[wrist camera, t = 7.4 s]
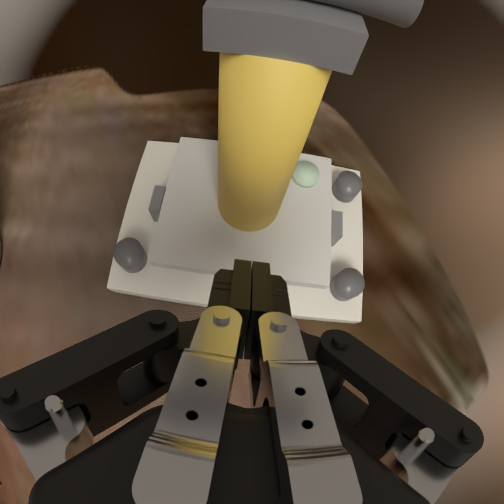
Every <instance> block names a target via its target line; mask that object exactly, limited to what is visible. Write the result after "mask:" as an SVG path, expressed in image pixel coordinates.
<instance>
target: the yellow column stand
mask: <svg viewBox="0 0 504 504" xmlns="http://www.w3.org/2000/svg"><path fill="white" fill-rule="evenodd" d="M423 2H424V0H207V1H206V3H205V5H204V6H203V50H204V51H214V52H220V64H219V105H218V141H216V140H207V139H197V138H187V137H181V138H180V141H179V145H178V148H177V151H176V155H175V158H174V162H173V165H172V169H171V172H170V176H169V179H168V183H167V187H166V191H165V194H164V198H163V202H162V206H161V210H160V214H159V218H158V222H157V227H156V231H155V235H154V240H153V244H152V249H151V253H150V258H149V263H150V264H151V265H152V266H155V267H162V268H169V269H175V270H182V271H189V272H196V273H203V274H210V275H214V274H215V273H216V272H218V271H219V270H220V269H228V270H233V267H234V260H235V259H240V260H249V261H251V268H252V262H253V261H257V262H266V263H270V272H271V275H279V276H281V277H282V278H283V279H284V280H285V281H286V283H287V285H294V286H302V287H310V288H318V289H326V288H327V287H329V286H330V265H331V227H332V173H331V159H329V158H324V157H319V156H314V155H309V154H303V153H301V152H302V149H303V147H304V144H305V141H306V139H307V136H308V133H309V131H310V128H311V125H312V123H313V120H314V118H315V115H316V112H317V110H318V107H319V104H320V102H321V99H322V96H323V93H324V91H325V88H326V85H327V83H328V80H329V77H330V75H331V72H332V70H334V71H338V72H342V73H346V74H350V75H352V74H353V71H354V69H355V67H356V64H357V62H358V60H359V57H360V55H361V53H362V50H363V48H364V46H365V43H366V41H367V39H368V36H369V35H368V32H367V29H366V26H365V23H364V20H363V17H362V14H361V13H363V14H366V15H369V16H372V17H375V18H379V19H381V20H384V21H387V22H390V23H393V24H395V25H398V26H401V27H403V28H406V27H408V26H410V25H411V24H412V23H413V22H414V21H415V20H416V18H417V17H418V15H419V13H420V11H421V8H422V5H423Z"/></svg>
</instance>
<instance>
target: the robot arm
mask: <svg viewBox="0 0 504 504" xmlns="http://www.w3.org/2000/svg"><path fill="white" fill-rule="evenodd" d="M1 253H2V247H1V240H0V262H1ZM288 296H289V295H288V289H287V283H286V281H285V280H284V279H283V278H282V277H281V276H279V275H271V272H270V263H266V262H257V261H253V262H252V268H251V261H249V260H240V259H235V260H234V267H233V270H228V269H220V270H219V271H218V272H216V273H215V274H214V279H213V283H212V288H211V292H210V297H209V301H208V306H207V309H205V310H204V311H203V313H202V315H201V317H200V318H198V319H196V320H192V321H186V322H178V319H177V317H176V316H175V315H174V314H172V313H170V312H168V311H164V310H151V311H147V312H145V313H143V314H140V315H138V316H136V317H134V318H132V319H130V320H127V321H125V322H123V323H121V324H119V325H117V326H114V327H112V328H110V329H108V330H106V331H103V332H101V333H99V334H97V335H95V336H93V337H90V338H88V339H86V340H84V341H82V342H79V343H77V344H75V345H73V346H71V347H68V348H66V349H64V350H62V351H60V352H57V353H55V354H53V355H51V356H49V357H46V358H44V359H42V360H40V361H37V362H35V363H33V364H31V365H29V366H26V367H24V368H22V369H20V370H17V371H15V372H13V373H11V374H8V375H6V376H4V377H2V378H0V421H1V423H2V425H3V426H4V428H5V429H6V430H7V432H8V433H9V434H10V436H11V437H12V438H13V439H14V441H15V442H16V444H17V446H18V448H19V450H20V452H21V454H22V456H23V458H24V460H25V461H26V463H27V465H28V467H29V469H30V470H31V472H32V474H33V476H34V477H35V479H36V481H37V482H36V483H35V484H34V486H33V488H32V490H31V493H30V496H29V503H28V504H434V503H435V501H436V500H437V499H438V497H439V496H440V494H441V493H442V491H443V490H444V488H445V487H446V485H447V484H448V482H449V480H450V479H451V478H452V476H453V474H454V473H455V471H457V470H458V469H459V468H460V467H461V466H462V465H464V464H465V463H466V462H467V461H468V460H469V459H470V458H471V457H472V456H473V455H474V454H475V453H477V452H478V451H479V450H480V449H481V447H482V445H483V442H484V436H483V433H482V430H481V429H480V427H479V426H478V425H477V424H476V423H475V422H474V421H472V420H471V419H469V418H468V417H466V416H465V415H464V414H462V413H461V412H459V411H458V410H456V409H455V408H454V407H452V406H451V405H449V404H448V403H447V402H445V401H444V400H442V399H441V398H439V397H438V396H437V395H435V394H434V393H432V392H431V391H430V390H428V389H427V388H425V387H424V386H422V385H421V384H420V383H418V382H417V381H415V380H414V379H413V378H411V377H410V376H408V375H407V374H406V373H404V372H403V371H401V370H400V369H399V368H397V367H396V366H394V365H393V364H392V363H390V362H389V361H387V360H386V359H385V358H383V357H382V356H380V355H379V354H378V353H376V352H375V351H373V350H372V349H371V348H369V347H368V346H366V345H365V344H364V343H362V342H361V341H359V340H358V339H357V338H355V337H354V336H352V335H351V334H349V333H347V332H345V331H342V330H328V331H325V332H324V333H323V334H322V335H321V338H320V337H317V336H313V335H310V334H307V333H305V332H303V331H301V330H300V329H299V326H298V323H297V321H296V320H295V319H294V318H293V317H292V315H291V308H290V302H289V297H288ZM244 345H245V350H244ZM243 351H244V359H250V369H249V376H248V377H249V390H250V402H251V408H243V407H240V406H236V405H233V404H230V403H229V401H230V396H231V390H232V384H233V379H234V373H235V370H236V368H237V365H238V358H239V359H242V358H243ZM141 362H142V363H141ZM139 363H140V364H139ZM137 364H139V365H137ZM135 365H137V366H135ZM133 366H135V367H133ZM131 367H133V368H131ZM130 368H131V369H130ZM128 369H129V370H128ZM126 370H128V371H126ZM124 371H126V372H124ZM123 372H124V373H123ZM345 380H347V381H348V382H349V383H350V384H352V385H353V386H354V387H355V388H357V389H358V390H359V391H360V392H362V393H363V394H364V395H365V396H366V397H367V399H368V402H369V405H367V404H366V403H365V402H363V401H362V400H361V399H360V398H358V397H357V396H356V395H355V394H353V393H352V392H351V391H350V390H348V389H347V388H346V387H345V386H343V383H344V381H345ZM167 392H168V394H167V397H166V399H165V402H164V405H160V406H157V407H154V408H151V409H149V410H147V411H145V412H143V413H142V414H140V415H139V416H137V417H136V418H134V419H133V420H131V421H130V422H128V423H127V424H125V425H123V426H122V427H120V428H119V429H117V430H116V431H114V432H113V433H111V434H109V435H108V436H106V437H105V438H103V439H102V440H100V441H98V442H97V443H95V444H93V437H94V436H96V435H98V434H99V433H101V432H103V431H105V430H106V429H108V428H110V427H111V426H113V425H115V424H117V423H118V422H120V421H122V420H123V419H125V418H127V417H128V416H130V415H132V414H133V413H135V412H137V411H138V410H140V409H142V408H143V407H145V406H146V405H148V404H150V403H151V402H153V401H154V400H156V399H158V398H159V397H161V396H162V395H164V394H166V393H167Z"/></svg>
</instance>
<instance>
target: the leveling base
mask: <svg viewBox="0 0 504 504" xmlns="http://www.w3.org/2000/svg"><path fill="white" fill-rule="evenodd" d="M178 145H179V143H171V142H158V141H148V142H147V145H146V148H145V151H144V153H143V156H142V159H141V162H140V165H139V168H138V171H137V174H136V178H135V181H134V184H133V187H132V190H131V194H130V197H129V200H128V204H127V207H126V211H125V214H124V218H123V221H122V225H121V229H120V233H119V237H118V241H117V244H116V246H115V248H114V253H113V254H114V257H113V261H112V265H111V270H110V274H109V279H108V284H107V288H108V289H109V290H111V291H113V292H118V293H124V294H129V295H135V296H141V297H146V298H152V299H158V300H164V301H170V302H177V303H183V304H190V305H196V306H203V307H207V306H208V301H209V297H210V292H211V288H212V283H213V279H214V275H210V274H203V273H196V272H189V271H182V270H175V269H169V268H162V267H155V266H152V265H151V264H150V263H149V258H150V253H151V249H152V244H153V240H154V235H155V231H156V227H157V222H158V218H159V214H160V210H161V206H162V202H163V198H164V194H165V191H166V187H167V183H168V179H169V176H170V172H171V169H172V165H173V162H174V158H175V155H176V151H177V148H178ZM331 173H332V227H331V265H330V286H329V287H327V288H326V289H318V288H310V287H302V286H294V285H287V289H288V295H289V296H288V297H289V302H290V308H291V315H292V317H293V318H300V319H310V320H320V321H331V322H343V323H358V322H361V316H362V291H363V289H364V285H365V282H364V278H363V229H362V200H361V189H362V180H361V178H360V171H356V170H351V169H347V168H342V167H337V166H332V165H331Z"/></svg>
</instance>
